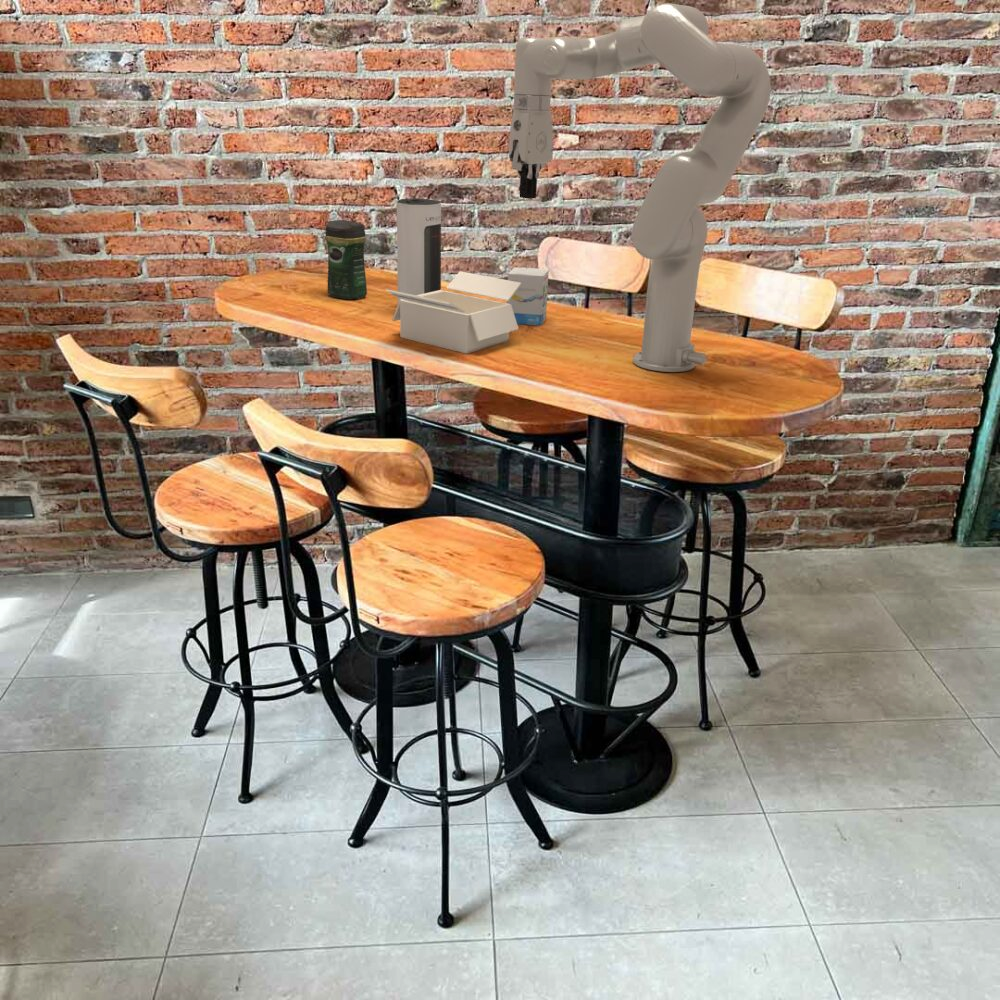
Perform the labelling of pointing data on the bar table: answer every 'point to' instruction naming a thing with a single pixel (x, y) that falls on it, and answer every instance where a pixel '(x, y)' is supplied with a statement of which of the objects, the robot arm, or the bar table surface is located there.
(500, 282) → the back flap
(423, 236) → the speaker
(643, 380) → the bar table surface
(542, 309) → the ink box
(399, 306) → the carton
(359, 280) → the coffee jar
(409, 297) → the front flap
